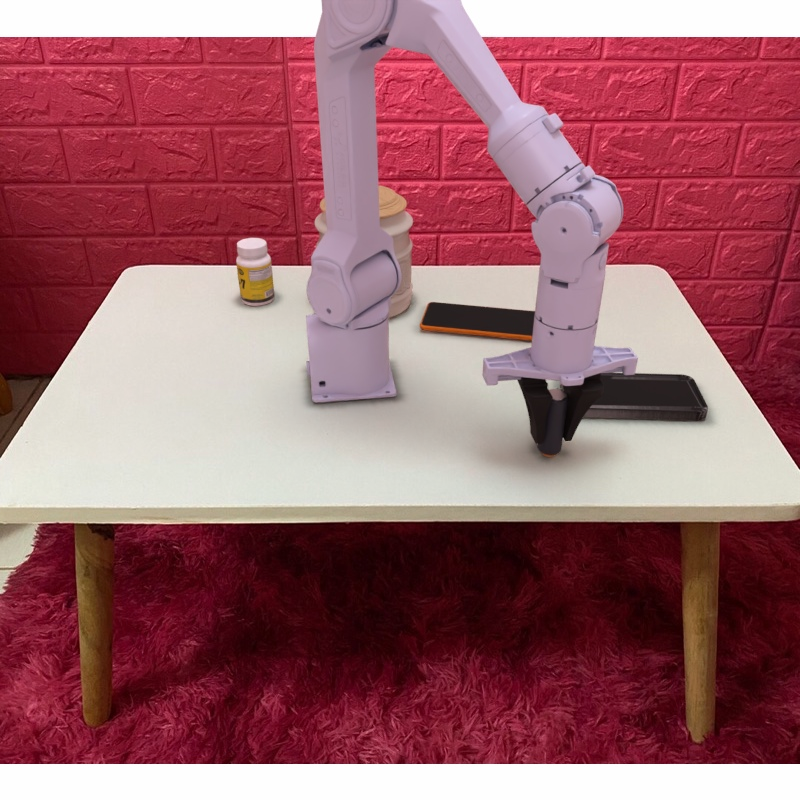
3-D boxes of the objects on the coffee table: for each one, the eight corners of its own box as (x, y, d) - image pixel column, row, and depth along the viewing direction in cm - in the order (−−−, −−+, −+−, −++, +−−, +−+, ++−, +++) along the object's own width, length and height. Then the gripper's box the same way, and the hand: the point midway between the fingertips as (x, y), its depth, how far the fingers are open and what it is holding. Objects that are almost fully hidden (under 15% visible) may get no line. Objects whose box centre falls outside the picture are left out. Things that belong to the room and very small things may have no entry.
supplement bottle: (238, 294, 110) (231, 238, 105) (271, 290, 111) (266, 234, 106) (243, 308, 106) (236, 251, 101) (277, 304, 107) (272, 247, 103)
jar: (312, 288, 112) (303, 165, 102) (398, 278, 114) (398, 158, 105) (329, 328, 101) (321, 196, 91) (424, 316, 104) (426, 187, 94)
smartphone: (548, 343, 97) (549, 337, 97) (418, 331, 100) (418, 325, 100) (550, 316, 104) (551, 310, 103) (428, 306, 106) (428, 300, 106)
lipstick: (540, 459, 78) (548, 401, 74) (534, 445, 80) (540, 388, 76) (563, 457, 78) (572, 399, 74) (556, 443, 80) (564, 386, 76)
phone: (710, 412, 82) (569, 408, 83) (708, 421, 83) (568, 416, 84) (691, 374, 89) (560, 370, 90) (689, 382, 90) (559, 378, 90)
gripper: (499, 342, 66) (489, 467, 74) (660, 331, 68) (634, 454, 75) (480, 306, 72) (473, 425, 79) (629, 296, 74) (608, 414, 81)
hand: (550, 436), depth 78 cm, fingers closed on lipstick, 2 cm apart
